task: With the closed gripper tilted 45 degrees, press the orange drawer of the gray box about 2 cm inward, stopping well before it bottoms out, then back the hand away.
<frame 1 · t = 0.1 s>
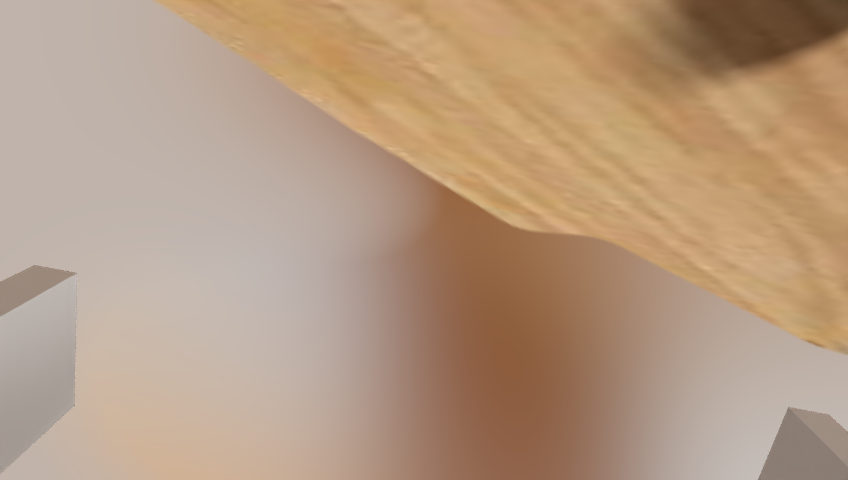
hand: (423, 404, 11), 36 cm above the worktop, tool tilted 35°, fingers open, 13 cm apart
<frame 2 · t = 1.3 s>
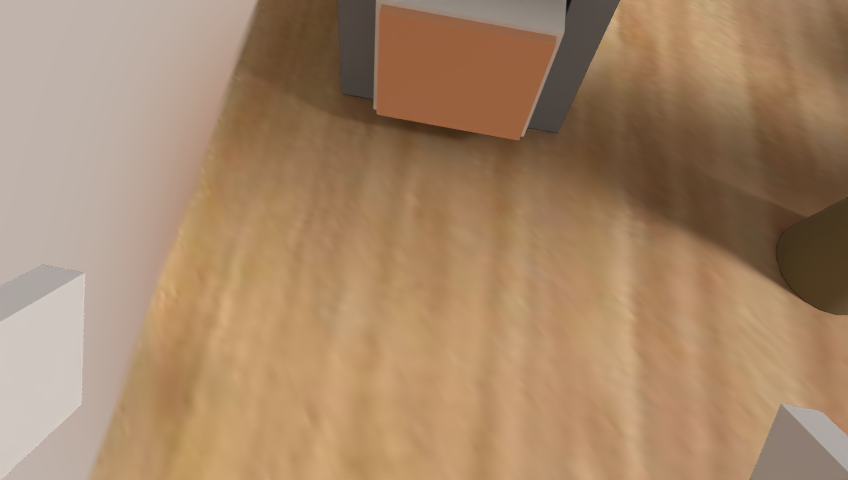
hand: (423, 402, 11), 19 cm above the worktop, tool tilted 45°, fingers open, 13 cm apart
cork: (824, 268, 35), on the worktop
gray box: (459, 56, 40), on the worktop
orange drawer: (466, 29, 33), point 6 cm above the worktop, slide at 0.0 cm
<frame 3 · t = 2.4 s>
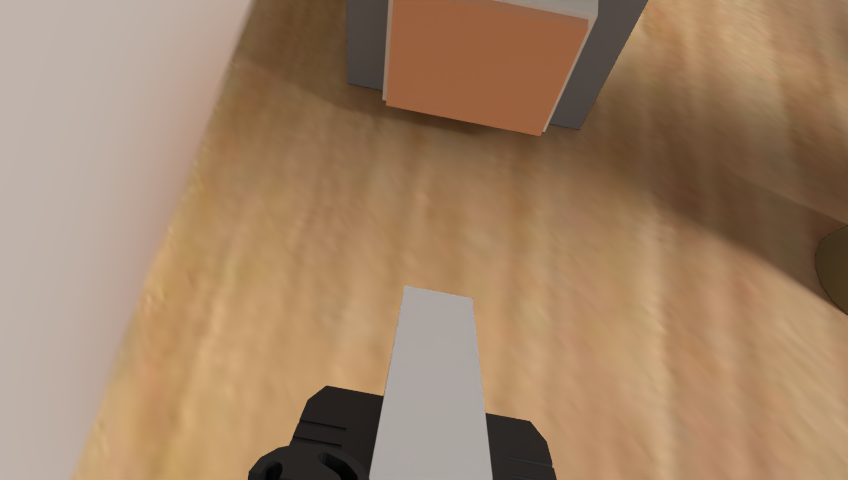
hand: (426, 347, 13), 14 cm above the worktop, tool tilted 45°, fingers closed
gray box: (474, 46, 38), on the worktop
orange drawer: (485, 14, 30), point 6 cm above the worktop, slide at 0.0 cm
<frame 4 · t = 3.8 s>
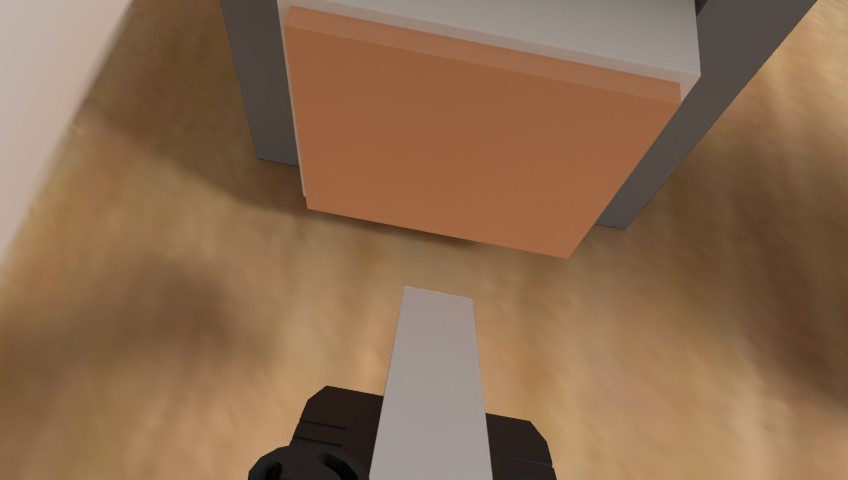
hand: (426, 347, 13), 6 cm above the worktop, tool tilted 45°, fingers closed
gray box: (459, 93, 25), on the worktop
orange drawer: (474, 57, 17), point 6 cm above the worktop, slide at 0.0 cm
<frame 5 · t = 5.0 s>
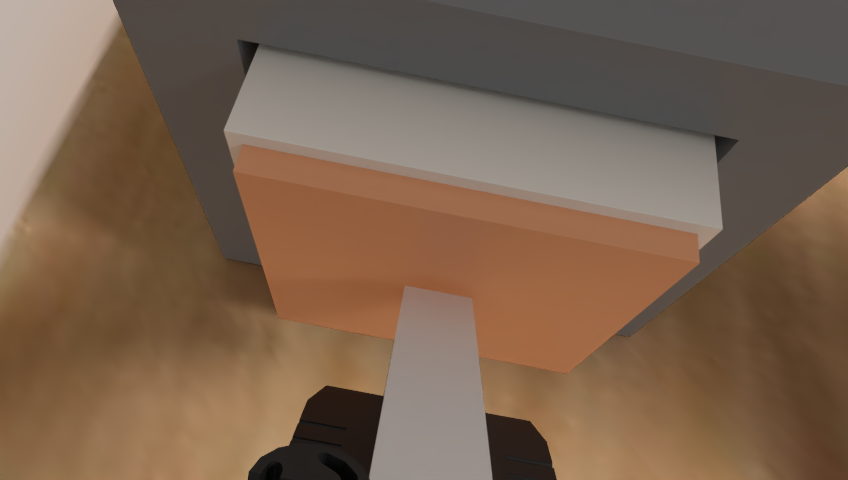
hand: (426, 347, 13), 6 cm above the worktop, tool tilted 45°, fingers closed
gray box: (448, 177, 23), on the worktop
orange drawer: (463, 158, 16), point 6 cm above the worktop, slide at 0.5 cm, touching gripper
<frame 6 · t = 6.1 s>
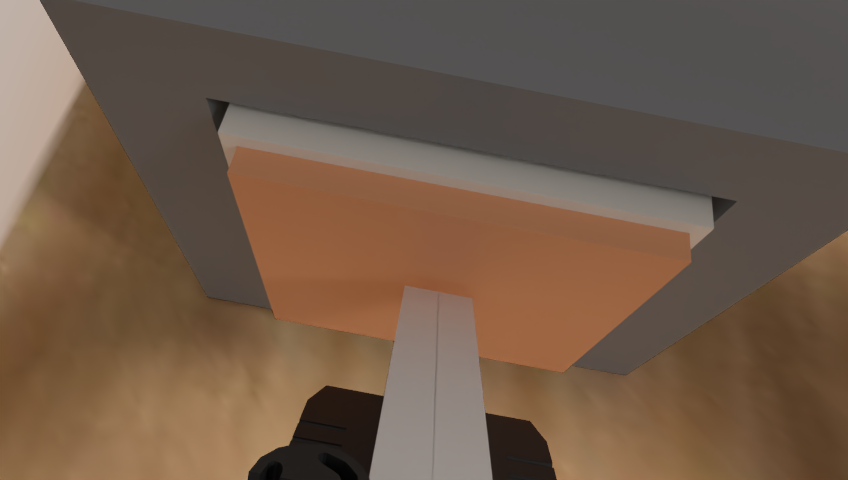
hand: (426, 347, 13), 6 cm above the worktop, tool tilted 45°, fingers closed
gray box: (439, 208, 22), on the worktop
orange drawer: (457, 158, 16), point 6 cm above the worktop, slide at 1.9 cm, touching gripper
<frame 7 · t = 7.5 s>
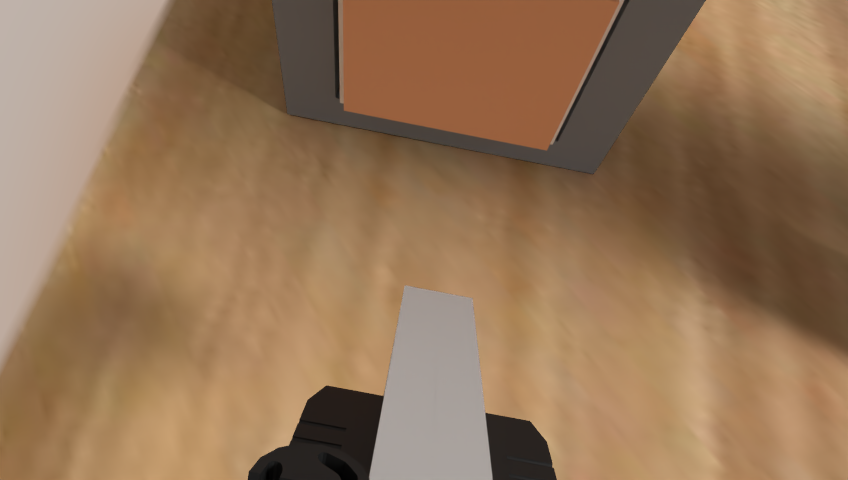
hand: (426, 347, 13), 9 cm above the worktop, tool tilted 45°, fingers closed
gray box: (455, 63, 29), on the worktop
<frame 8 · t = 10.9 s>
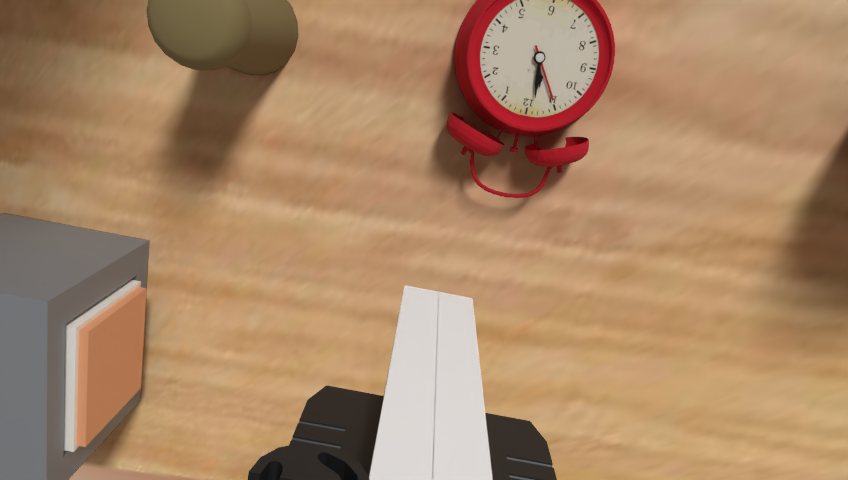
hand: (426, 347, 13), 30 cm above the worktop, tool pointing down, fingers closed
cork: (255, 29, 41), on the worktop
gray box: (81, 312, 47), on the worktop
alarm clock: (525, 82, 41), on the worktop
orange drawer: (60, 352, 41), point 6 cm above the worktop, slide at 1.9 cm
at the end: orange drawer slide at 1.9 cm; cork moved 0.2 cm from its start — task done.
